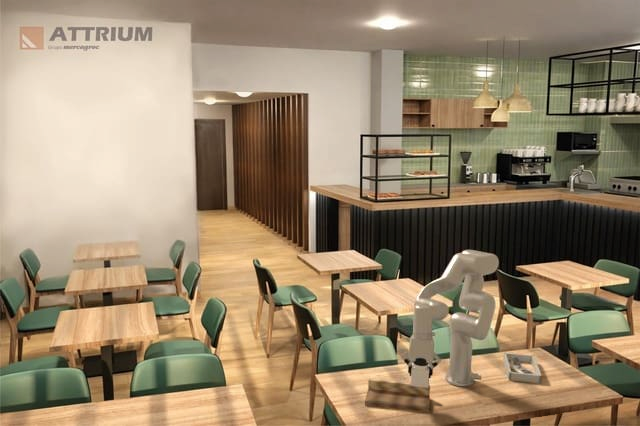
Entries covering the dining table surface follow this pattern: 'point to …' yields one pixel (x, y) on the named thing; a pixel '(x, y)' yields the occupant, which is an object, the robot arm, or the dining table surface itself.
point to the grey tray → (522, 376)
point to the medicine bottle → (420, 373)
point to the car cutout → (519, 367)
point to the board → (397, 395)
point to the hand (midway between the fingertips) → (420, 375)
